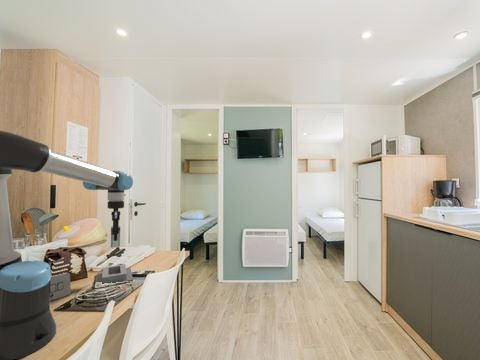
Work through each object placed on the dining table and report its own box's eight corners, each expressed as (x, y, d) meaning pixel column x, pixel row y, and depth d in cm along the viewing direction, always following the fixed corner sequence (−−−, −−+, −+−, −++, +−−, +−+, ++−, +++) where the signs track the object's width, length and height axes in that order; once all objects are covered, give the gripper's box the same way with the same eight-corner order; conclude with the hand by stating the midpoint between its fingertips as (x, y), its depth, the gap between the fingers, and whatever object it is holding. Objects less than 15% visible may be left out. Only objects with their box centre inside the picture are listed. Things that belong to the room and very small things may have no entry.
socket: (132, 281, 107) (133, 273, 107) (94, 289, 99) (94, 280, 99) (130, 269, 123) (130, 262, 123) (96, 275, 115) (97, 267, 115)
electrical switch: (42, 304, 87) (42, 280, 88) (39, 300, 90) (40, 278, 91) (71, 294, 94) (71, 273, 95) (67, 292, 97) (67, 271, 98)
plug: (119, 246, 111) (120, 227, 111) (110, 247, 108) (111, 227, 109) (119, 244, 114) (120, 225, 114) (110, 245, 112) (111, 226, 112)
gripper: (124, 201, 106) (124, 248, 106) (123, 199, 121) (123, 240, 121) (107, 202, 102) (106, 251, 102) (108, 199, 117) (107, 242, 117)
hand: (115, 245), depth 111 cm, fingers closed on plug, 4 cm apart
